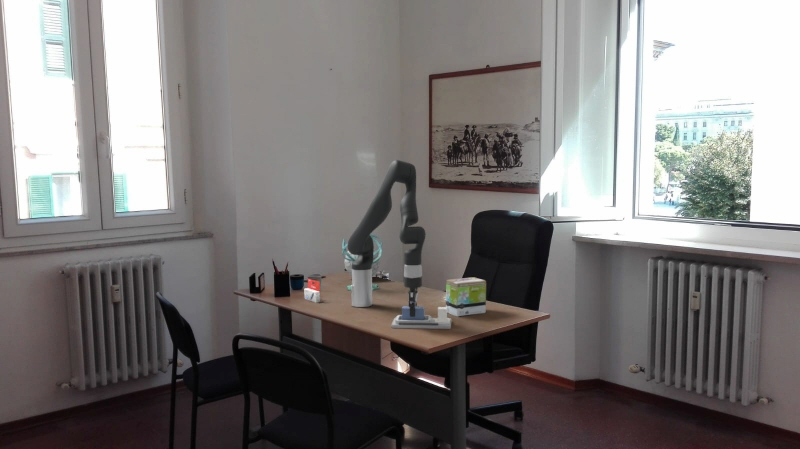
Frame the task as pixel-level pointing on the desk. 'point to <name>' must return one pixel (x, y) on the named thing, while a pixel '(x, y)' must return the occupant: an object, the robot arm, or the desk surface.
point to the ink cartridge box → (312, 291)
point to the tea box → (465, 296)
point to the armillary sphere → (374, 286)
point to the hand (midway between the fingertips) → (413, 313)
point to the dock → (425, 321)
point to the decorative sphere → (349, 263)
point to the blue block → (418, 313)
